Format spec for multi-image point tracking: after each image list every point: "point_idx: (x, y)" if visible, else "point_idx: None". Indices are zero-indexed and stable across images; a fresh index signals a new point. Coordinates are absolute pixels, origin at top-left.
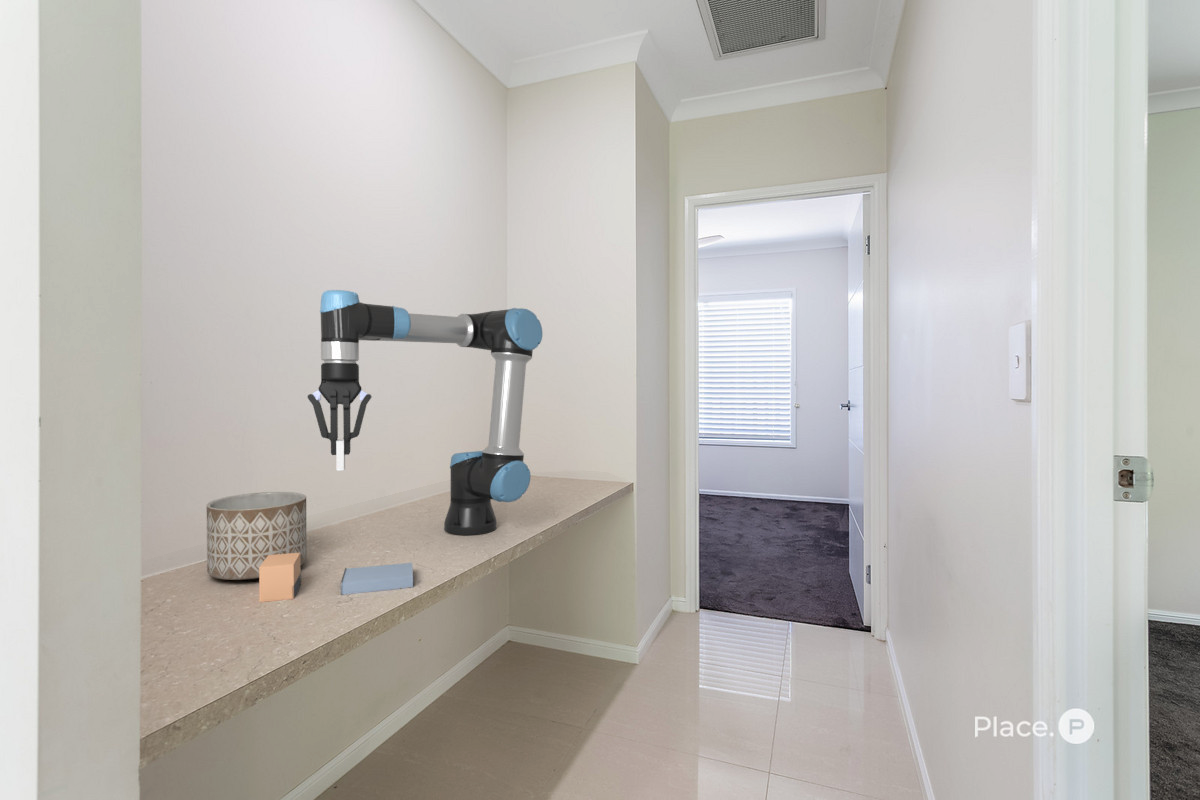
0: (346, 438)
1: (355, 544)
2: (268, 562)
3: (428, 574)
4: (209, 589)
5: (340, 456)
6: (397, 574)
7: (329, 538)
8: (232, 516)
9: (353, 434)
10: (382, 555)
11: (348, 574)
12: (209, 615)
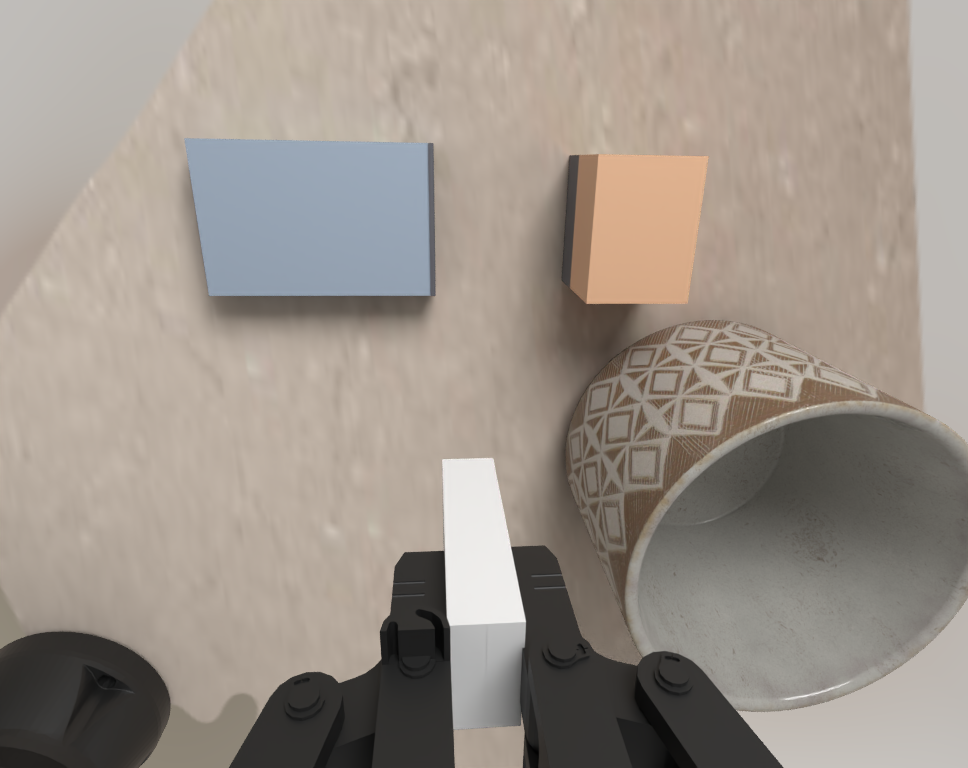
0: (413, 624)
1: None
2: (682, 208)
3: (163, 263)
4: (793, 319)
5: (471, 519)
6: (245, 171)
7: None
8: (889, 398)
9: (329, 698)
10: (345, 495)
11: (417, 227)
12: (780, 89)
